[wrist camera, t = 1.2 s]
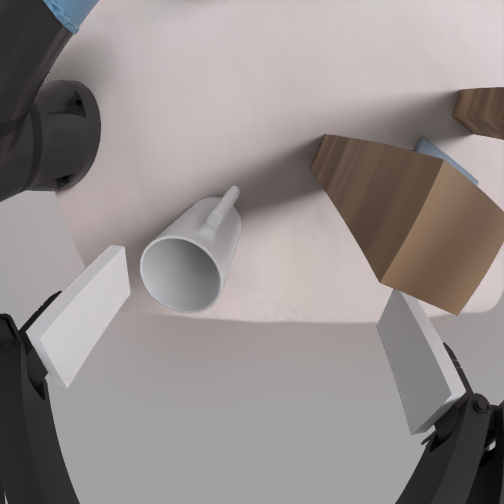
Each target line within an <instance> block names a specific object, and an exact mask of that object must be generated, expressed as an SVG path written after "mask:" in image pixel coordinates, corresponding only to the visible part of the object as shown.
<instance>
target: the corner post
mask: <svg viewBox="0 0 504 504" xmlns="http://www.w3.org/2000/svg"><path fill="white" fill-rule="evenodd" d="M310 169H311V171H312V172H313V174H314V175H315V176H316V178H317V179H318V181H319V182H320V184H321V185H322V187H323V188H324V190H325V191H326V193H327V194H328V196H329V197H330V199H331V201H332V202H333V204H334V205H335V207H336V208H337V210H338V212H339V213H340V215H341V216H342V218H343V220H344V221H345V223H346V225H347V226H348V228H349V229H350V231H351V233H352V235H353V236H354V238H355V240H356V241H357V243H358V245H359V246H360V248H361V250H362V252H363V253H364V255H365V257H366V259H367V261H368V262H369V264H370V266H371V268H372V270H373V271H374V273H375V275H376V277H377V279H378V281H379V283H382V284H384V285H386V286H389V287H391V288H394V289H396V290H398V291H401V292H403V293H406V294H408V295H410V296H413V297H415V298H417V299H420V300H422V301H424V302H427V303H429V304H431V305H434V306H436V307H438V308H441V309H443V310H445V311H448V312H450V313H452V314H454V315H458V314H459V313H460V312H461V310H462V309H463V308H464V306H465V305H466V303H467V302H468V300H469V299H470V298H471V296H472V295H473V293H474V292H475V290H476V289H477V287H478V286H479V284H480V282H481V281H482V279H483V278H484V276H485V274H486V273H487V271H488V269H489V268H490V266H491V264H492V262H493V261H494V259H495V257H496V255H497V253H498V252H499V250H500V248H501V246H502V244H503V242H504V212H503V211H502V210H501V209H500V208H499V207H498V206H497V205H496V204H495V203H494V202H493V201H492V200H491V199H490V198H489V197H488V196H487V195H486V194H485V193H484V192H483V191H482V190H481V189H479V188H478V187H477V186H476V185H475V184H474V183H473V182H471V181H470V180H469V179H468V178H467V177H466V176H464V175H463V174H462V173H461V172H459V171H458V170H457V169H456V168H455V167H453V166H452V165H451V164H449V163H448V162H447V161H445V160H444V159H441V158H437V157H434V156H430V155H427V154H423V153H419V152H415V151H411V150H407V149H403V148H399V147H394V146H390V145H385V144H380V143H375V142H370V141H365V140H359V139H353V138H347V137H341V136H334V135H327V134H325V135H324V137H323V139H322V142H321V144H320V147H319V149H318V151H317V154H316V156H315V158H314V161H313V163H312V165H311V167H310Z"/></svg>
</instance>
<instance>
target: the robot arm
mask: <svg viewBox="0 0 504 504" xmlns="http://www.w3.org/2000/svg"><path fill="white" fill-rule="evenodd" d="M98 1H99V0H0V202H1V201H3V200H5V199H7V198H9V197H12V196H14V195H16V194H18V193H20V192H23V191H25V190H33V191H58V190H62V189H64V188H67V187H69V186H72V185H74V184H76V183H77V182H79V181H80V180H81V179H82V178H83V177H84V176H85V175H86V173H87V172H88V171H89V169H90V167H91V165H92V164H93V161H94V159H95V156H96V154H97V150H98V146H99V141H100V132H101V122H100V113H99V109H98V105H97V102H96V100H95V98H94V96H93V94H92V93H91V91H90V90H89V89H88V88H87V87H86V86H85V85H83V84H82V83H80V82H77V81H70V80H58V81H53V82H50V83H48V84H46V85H43V86H41V85H42V83H43V81H44V79H45V78H46V76H47V74H48V72H49V71H50V69H51V67H52V66H53V64H54V62H55V61H56V59H57V57H58V56H59V54H60V53H61V51H62V50H63V48H64V47H65V45H66V44H67V43H68V41H69V40H70V38H71V37H72V35H73V34H74V35H76V33H77V32H78V31H79V26H80V25H81V23H82V22H83V21H84V19H85V18H86V17H87V15H88V14H89V13H90V11H91V10H92V9H93V7H94V6H95V5H96V4H97V2H98ZM130 294H131V291H130V284H129V278H128V270H127V263H126V255H125V246H118V245H111V246H109V247H108V248H107V249H106V250H105V251H104V252H103V253H102V254H101V255H100V256H98V257H97V258H96V259H95V260H94V261H93V262H92V263H91V264H90V265H89V266H88V267H87V268H86V269H85V270H84V271H83V272H82V273H81V274H80V275H78V277H76V278H75V280H73V281H72V282H71V283H70V285H68V286H67V287H66V288H65V290H64V291H59V292H57V293H55V294H53V295H52V296H50V297H49V298H48V299H47V300H46V301H45V302H44V304H43V305H42V306H41V307H40V308H39V309H38V311H36V312H35V313H34V314H33V315H32V316H31V318H30V319H29V320H28V321H27V322H26V323H25V324H24V325H23V326H22V328H21V329H20V330H19V331H18V329H17V327H16V325H15V323H14V321H13V319H12V317H11V316H10V315H8V314H6V313H5V314H0V504H5V495H6V498H7V502H8V504H80V503H79V501H78V498H77V496H76V494H75V491H74V488H73V486H72V483H71V480H70V478H69V475H68V472H67V469H66V466H65V463H64V460H63V456H62V453H61V449H60V446H59V442H58V438H57V434H56V430H55V425H54V421H53V416H52V411H51V406H50V399H49V393H48V385H47V382H46V379H45V376H46V375H47V373H49V375H50V377H51V378H52V380H53V381H54V382H55V383H57V384H59V385H61V386H63V387H65V388H68V387H69V385H70V384H71V382H72V380H73V379H74V377H75V375H76V374H77V372H78V370H79V369H80V367H81V365H82V364H83V362H84V361H85V359H86V358H87V356H88V355H89V353H90V351H91V350H92V348H93V347H94V345H95V344H96V342H97V341H98V339H99V338H100V336H101V335H102V333H103V332H104V330H105V329H106V327H107V326H108V325H109V323H110V322H111V320H112V319H113V317H114V316H115V314H116V313H117V312H118V310H119V309H120V307H121V306H122V305H123V303H124V302H125V300H126V299H127V298H128V296H129V295H130ZM376 327H377V330H378V332H379V335H380V338H381V341H382V343H383V346H384V349H385V351H386V354H387V357H388V360H389V363H390V366H391V369H392V372H393V375H394V378H395V381H396V384H397V387H398V391H399V394H400V397H401V401H402V404H403V408H404V411H405V415H406V418H407V422H408V425H409V430H410V434H411V435H413V434H418V433H423V432H426V431H427V430H428V429H429V428H430V427H432V426H433V425H434V426H435V429H436V430H435V431H434V432H433V433H432V434H431V435H429V436H428V437H427V438H426V439H425V440H424V441H423V442H422V443H421V444H422V445H423V444H424V443H426V442H427V441H428V440H429V442H428V444H427V445H426V448H425V450H424V453H423V455H422V457H421V459H420V461H419V463H418V465H417V467H416V469H415V471H414V473H413V474H412V476H411V478H410V480H409V482H408V483H407V485H406V487H405V489H404V490H403V492H402V494H401V495H400V497H399V499H398V500H397V502H396V503H395V504H504V401H503V402H502V403H501V404H500V405H499V406H496V405H490V404H489V402H488V400H487V399H486V398H485V397H484V396H483V395H481V394H477V393H475V394H474V393H473V391H472V389H471V387H470V385H469V383H468V381H467V378H466V376H465V374H464V372H463V370H462V368H460V364H459V362H458V361H457V359H456V357H455V355H454V353H453V351H452V350H451V349H450V348H449V347H448V345H446V343H442V342H441V340H440V338H439V336H438V334H437V332H436V331H435V329H434V327H433V325H432V324H431V322H430V320H429V319H428V317H427V315H426V313H425V312H424V310H423V308H422V307H421V305H420V304H419V302H418V300H417V299H416V298H415V297H413V296H410V295H408V294H406V293H403V292H401V291H398V290H396V289H393V291H392V293H391V296H390V298H389V300H388V303H387V305H386V307H385V309H384V312H383V314H382V316H381V318H380V320H379V322H378V324H377V326H376ZM494 441H496V445H495V447H494V448H493V449H492V450H489V445H490V444H492V443H493V442H494ZM4 491H5V494H4Z"/></svg>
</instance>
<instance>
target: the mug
mask: <svg viewBox="0 0 504 504" xmlns="http://www.w3.org/2000/svg"><path fill="white" fill-rule="evenodd" d="M239 193H240V190H239V188H237V187H236V186H231V187H230V188H229V189H228V190H227V191H226V193H225V195H224V196H223V198H219V197H207V198H204V199H201V200H199V201H198V202H197V203H195V204H194V205H193V206H192V207H190V208H189V209H188V210H187V211H186V212H184V213H183V214H182V215H181V216H180V217H179V218H178V219H176V220H175V221H174V222H173V223H172V224H171V225H169V226H168V227H167V228H166V229H165V230H164V231H163V232H162V233H160V234H159V235H158V236H157V237H156V238H155V239H154V240H153V241H152V242H151V243H150V244H149V245H148V246H147V247H146V248H145V250H144V251H143V253H142V256H141V259H140V274H141V278H142V281H143V283H144V285H145V287H146V289H147V290H148V292H149V293H150V294H151V295H152V297H153V298H154V299H155V300H157V301H158V302H159V303H160V304H162V305H163V306H165V307H167V308H169V309H171V310H174V311H177V312H182V313H196V312H201V311H204V310H206V309H208V308H210V307H211V306H212V305H213V304H214V303H215V302H216V301H217V300H218V298H219V297H220V295H221V292H222V289H223V286H224V283H225V281H226V278H227V274H228V271H229V268H230V265H231V261H232V258H233V255H234V252H235V249H236V246H237V243H238V239H239V235H240V232H241V227H242V222H241V217H240V214H239V212H238V211H237V209H236V208H235V207H234V206H233V205H234V203H235V202H236V200H237V198H238V196H239Z"/></svg>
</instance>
